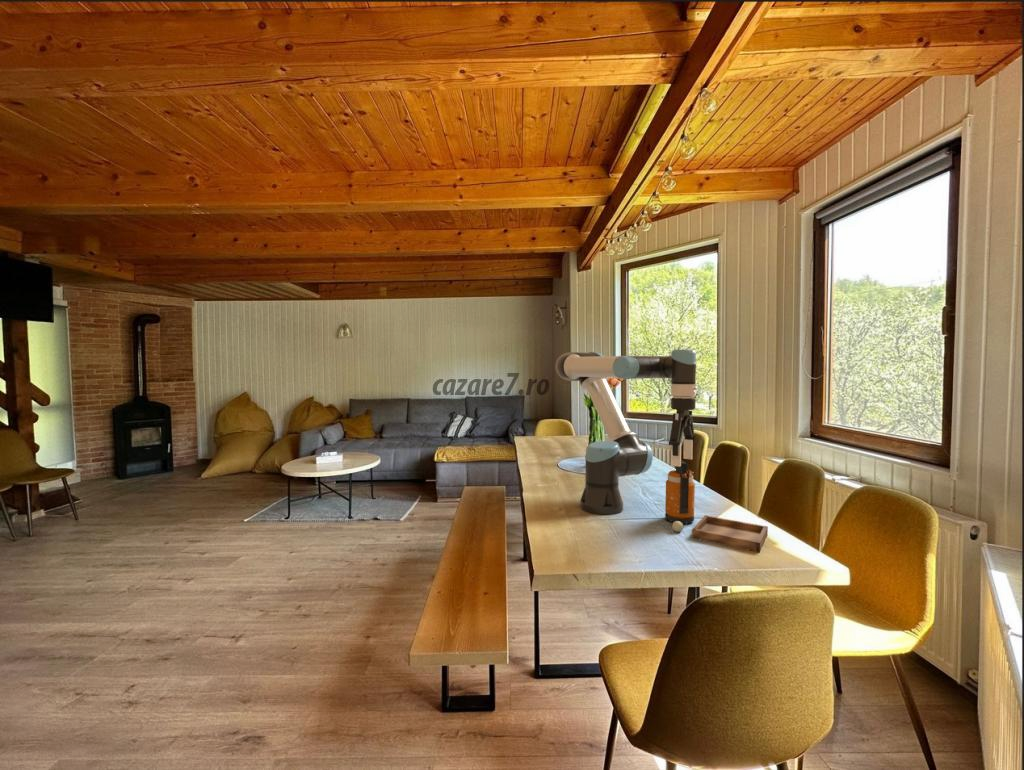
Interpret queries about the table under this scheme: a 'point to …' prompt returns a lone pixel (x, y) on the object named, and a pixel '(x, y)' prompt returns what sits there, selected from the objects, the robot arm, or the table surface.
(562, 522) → the table surface
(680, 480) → the canister
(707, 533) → the tray
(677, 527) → the ball
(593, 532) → the table surface
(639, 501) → the table surface
